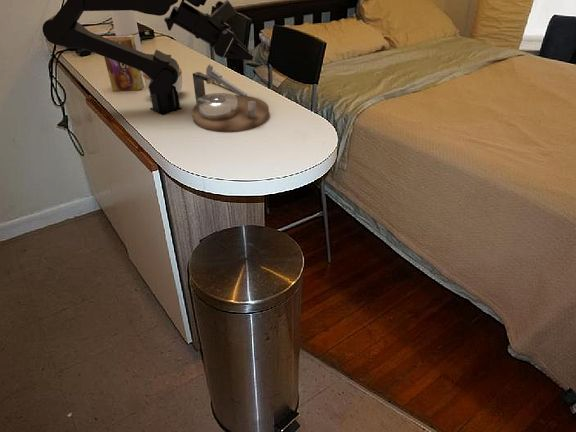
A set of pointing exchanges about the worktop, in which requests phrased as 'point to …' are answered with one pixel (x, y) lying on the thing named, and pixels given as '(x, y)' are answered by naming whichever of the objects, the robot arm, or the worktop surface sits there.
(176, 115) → the worktop surface
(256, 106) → the turntable
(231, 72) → the worktop surface
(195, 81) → the turntable stand
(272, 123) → the worktop surface
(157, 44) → the worktop surface
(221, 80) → the caliper
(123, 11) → the cylindrical container
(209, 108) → the cover
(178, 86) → the lidded jar
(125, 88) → the candy box
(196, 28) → the robot arm
